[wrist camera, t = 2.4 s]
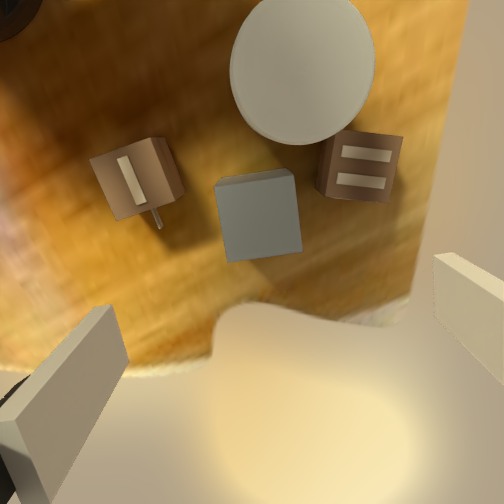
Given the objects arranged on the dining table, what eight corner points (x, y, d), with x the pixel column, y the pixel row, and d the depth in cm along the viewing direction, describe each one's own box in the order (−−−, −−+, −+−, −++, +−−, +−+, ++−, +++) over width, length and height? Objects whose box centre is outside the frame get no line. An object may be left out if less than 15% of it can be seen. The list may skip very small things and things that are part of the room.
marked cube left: (143, 228, 42) (125, 243, 36) (112, 156, 40) (87, 159, 34) (193, 211, 41) (183, 224, 35) (164, 137, 39) (149, 137, 33)
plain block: (232, 239, 42) (227, 262, 35) (221, 177, 40) (213, 187, 33) (293, 230, 42) (303, 251, 34) (285, 167, 40) (293, 174, 32)
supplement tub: (216, 80, 37) (195, 46, 23) (295, 16, 36) (323, -62, 22) (272, 160, 40) (283, 174, 26) (349, 104, 38) (406, 85, 24)
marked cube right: (314, 189, 41) (325, 198, 35) (324, 129, 39) (336, 128, 33) (369, 195, 41) (388, 206, 35) (381, 136, 39) (404, 136, 33)
